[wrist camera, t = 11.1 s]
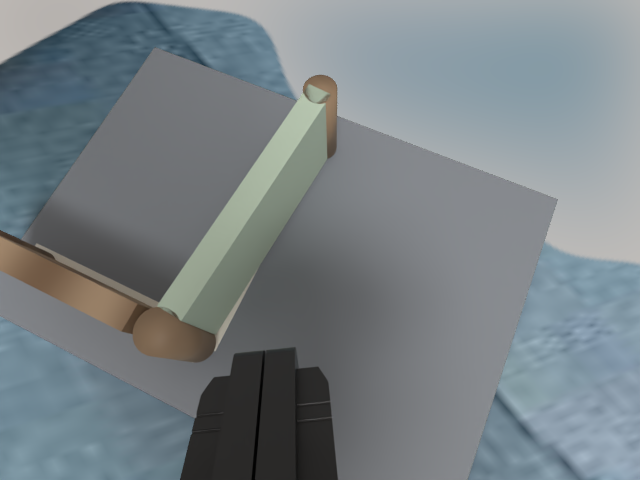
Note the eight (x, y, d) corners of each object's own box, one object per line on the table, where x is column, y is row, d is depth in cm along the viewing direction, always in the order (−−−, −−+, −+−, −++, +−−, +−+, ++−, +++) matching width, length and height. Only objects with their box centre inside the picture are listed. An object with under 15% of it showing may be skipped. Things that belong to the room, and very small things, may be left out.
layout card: (443, 547, 24) (445, 550, 24) (-20, 304, 30) (-25, 303, 29) (555, 201, 31) (558, 199, 30) (156, 50, 36) (154, 46, 35)
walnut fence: (21, 272, 30) (-69, 241, 23) (38, 247, 30) (-45, 209, 24) (169, 347, 28) (118, 336, 21) (185, 318, 29) (140, 299, 22)
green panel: (201, 369, 27) (161, 366, 21) (170, 349, 28) (122, 340, 21) (343, 143, 32) (346, 84, 25) (315, 129, 32) (311, 68, 26)
